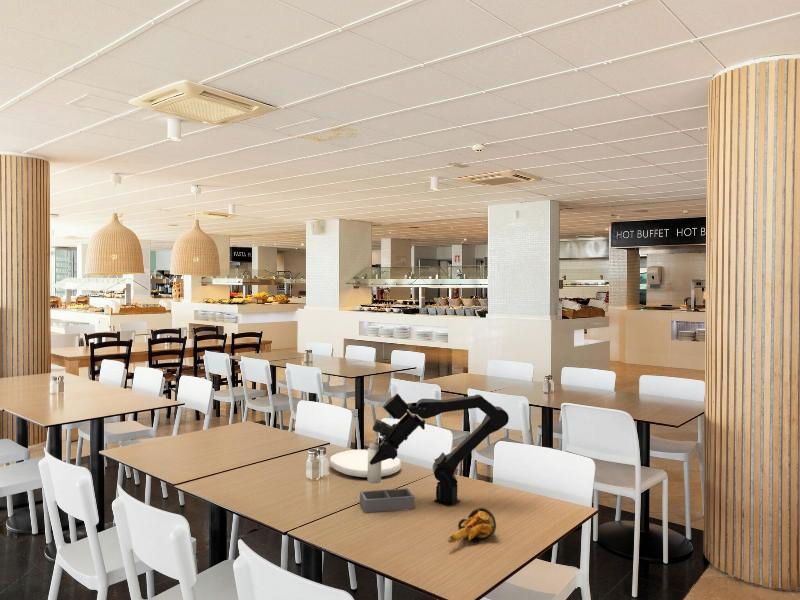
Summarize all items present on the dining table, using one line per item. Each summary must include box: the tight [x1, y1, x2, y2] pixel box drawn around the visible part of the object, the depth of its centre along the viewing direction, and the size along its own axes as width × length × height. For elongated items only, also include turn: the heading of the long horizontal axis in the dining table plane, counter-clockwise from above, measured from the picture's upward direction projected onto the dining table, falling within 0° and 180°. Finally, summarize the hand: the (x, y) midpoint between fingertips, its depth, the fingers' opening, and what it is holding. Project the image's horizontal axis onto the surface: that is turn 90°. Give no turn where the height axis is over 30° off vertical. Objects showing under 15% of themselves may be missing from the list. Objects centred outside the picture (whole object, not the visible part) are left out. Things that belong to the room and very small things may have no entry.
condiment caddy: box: [359, 487, 416, 514], centre depth 199 cm, size 16×9×4 cm, turn 104°
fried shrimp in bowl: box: [447, 507, 497, 545], centre depth 171 cm, size 9×11×18 cm
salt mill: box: [367, 440, 382, 484], centre depth 203 cm, size 5×5×14 cm
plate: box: [329, 449, 402, 478], centre depth 239 cm, size 28×6×27 cm
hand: (370, 461), depth 203 cm, fingers closed on salt mill, 5 cm apart
